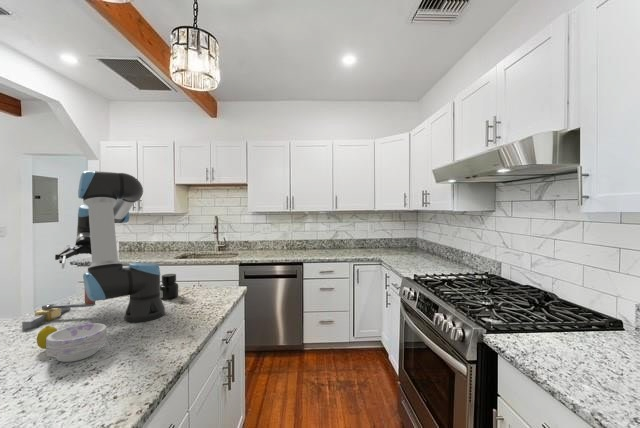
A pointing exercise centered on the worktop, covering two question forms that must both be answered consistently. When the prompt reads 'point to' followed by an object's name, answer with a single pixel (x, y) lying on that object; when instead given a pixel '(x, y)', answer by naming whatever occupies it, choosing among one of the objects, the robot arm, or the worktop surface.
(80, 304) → the lever
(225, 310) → the worktop surface
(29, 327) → the gray bar
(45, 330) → the lemon
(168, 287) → the ink bottle
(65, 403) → the worktop surface
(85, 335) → the paper bowls
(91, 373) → the worktop surface
